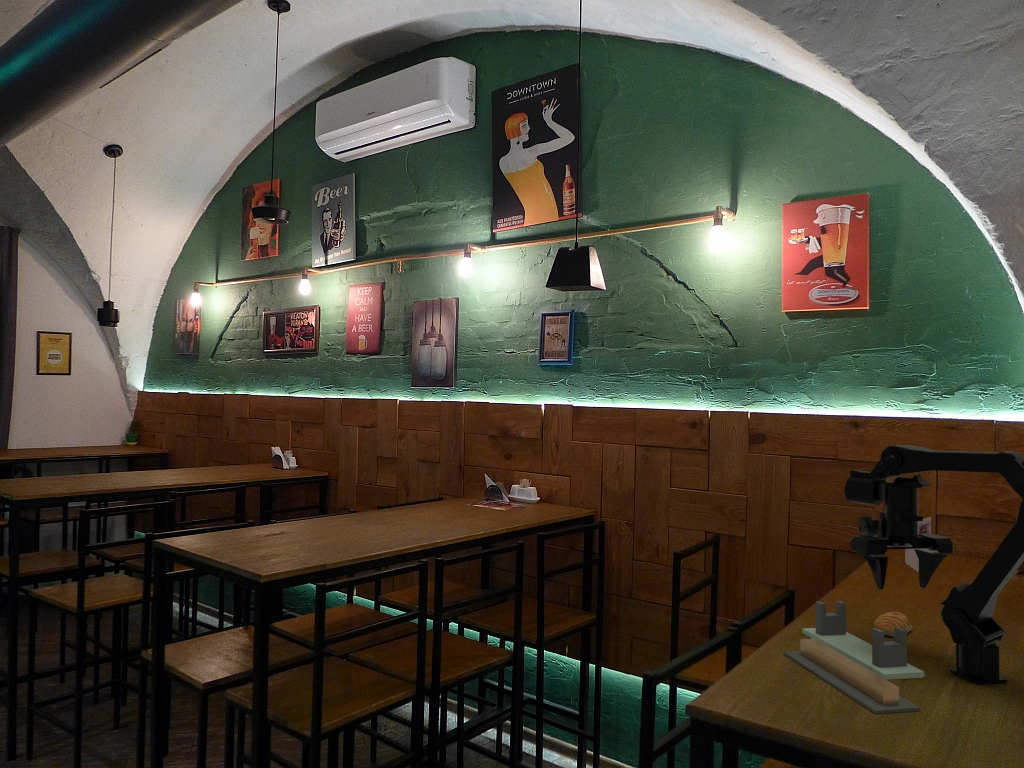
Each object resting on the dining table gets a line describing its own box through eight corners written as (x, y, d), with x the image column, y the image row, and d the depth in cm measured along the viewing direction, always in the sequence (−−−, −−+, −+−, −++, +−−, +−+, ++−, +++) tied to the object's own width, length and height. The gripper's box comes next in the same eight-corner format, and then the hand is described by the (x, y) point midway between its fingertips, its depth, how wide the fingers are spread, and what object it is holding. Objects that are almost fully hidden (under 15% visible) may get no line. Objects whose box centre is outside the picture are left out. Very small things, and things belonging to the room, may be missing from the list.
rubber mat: (920, 710, 116) (920, 707, 116) (875, 713, 114) (875, 710, 114) (821, 652, 142) (821, 649, 142) (783, 654, 141) (783, 651, 141)
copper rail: (898, 704, 117) (898, 687, 117) (883, 705, 116) (883, 688, 116) (813, 653, 141) (813, 638, 141) (800, 653, 140) (800, 639, 140)
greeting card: (920, 572, 211) (920, 521, 211) (893, 568, 217) (893, 517, 217) (934, 566, 219) (933, 517, 219) (907, 562, 224) (907, 514, 225)
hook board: (924, 677, 130) (924, 635, 130) (884, 679, 129) (884, 637, 129) (836, 631, 155) (836, 596, 156) (802, 633, 154) (802, 597, 154)
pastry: (901, 641, 150) (900, 623, 150) (866, 634, 155) (866, 616, 155) (913, 631, 157) (913, 613, 157) (880, 625, 161) (879, 607, 162)
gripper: (914, 502, 151) (914, 577, 151) (833, 503, 148) (833, 579, 148) (955, 510, 140) (955, 591, 140) (868, 511, 137) (868, 594, 137)
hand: (901, 588), depth 142 cm, fingers open, 9 cm apart
